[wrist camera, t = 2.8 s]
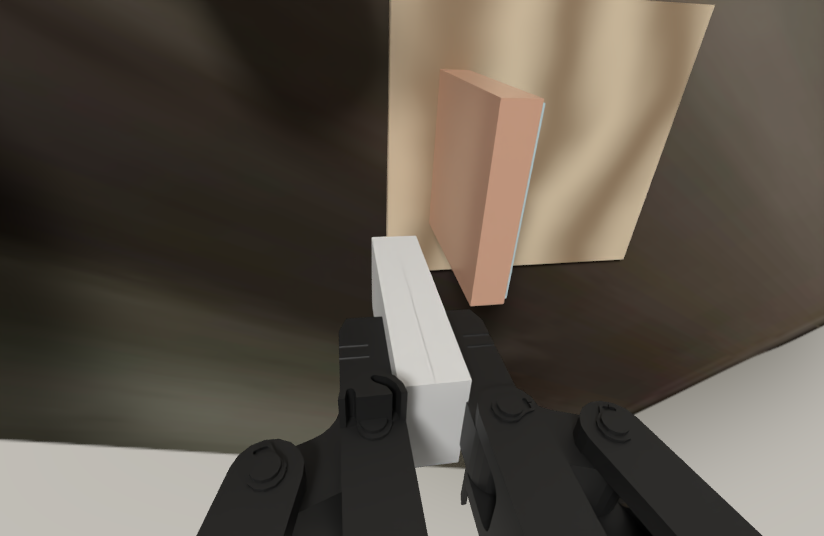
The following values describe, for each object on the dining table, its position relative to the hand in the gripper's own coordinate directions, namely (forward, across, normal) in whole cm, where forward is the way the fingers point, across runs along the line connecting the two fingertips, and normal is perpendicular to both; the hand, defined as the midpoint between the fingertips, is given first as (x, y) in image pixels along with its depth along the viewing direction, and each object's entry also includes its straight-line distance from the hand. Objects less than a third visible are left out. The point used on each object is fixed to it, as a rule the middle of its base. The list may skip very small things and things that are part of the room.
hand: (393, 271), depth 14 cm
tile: (+14, +6, 0) cm, 15 cm away
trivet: (+15, +12, 0) cm, 19 cm away
